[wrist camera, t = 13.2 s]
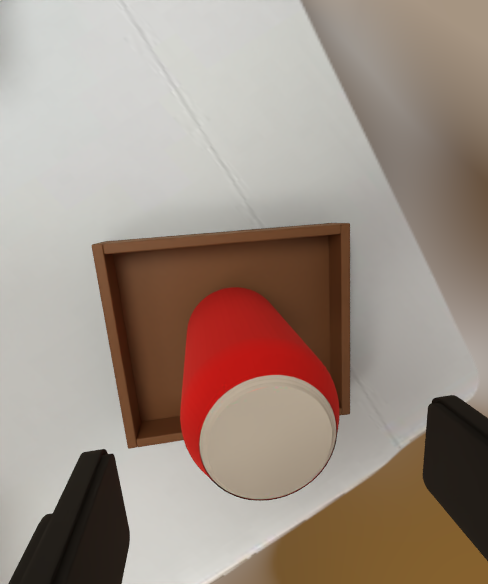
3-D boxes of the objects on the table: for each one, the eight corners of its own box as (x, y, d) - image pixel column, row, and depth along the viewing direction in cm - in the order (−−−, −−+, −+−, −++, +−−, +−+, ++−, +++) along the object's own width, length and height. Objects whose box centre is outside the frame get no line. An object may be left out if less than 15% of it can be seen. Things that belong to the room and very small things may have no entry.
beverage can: (262, 271, 22) (336, 331, 10) (285, 352, 23) (373, 484, 12) (174, 300, 21) (148, 396, 10) (204, 381, 23) (212, 546, 11)
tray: (333, 222, 22) (350, 223, 20) (334, 395, 25) (350, 414, 23) (103, 241, 21) (91, 244, 18) (135, 424, 24) (127, 449, 21)
